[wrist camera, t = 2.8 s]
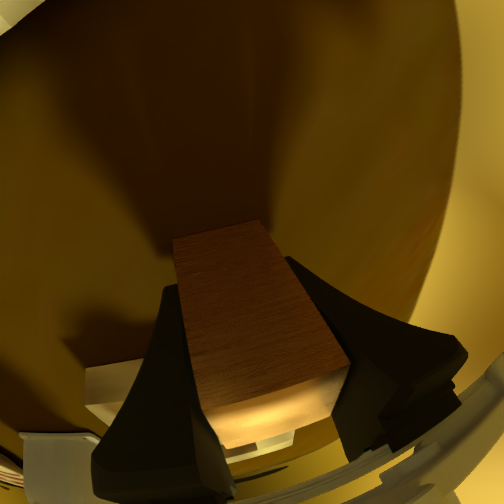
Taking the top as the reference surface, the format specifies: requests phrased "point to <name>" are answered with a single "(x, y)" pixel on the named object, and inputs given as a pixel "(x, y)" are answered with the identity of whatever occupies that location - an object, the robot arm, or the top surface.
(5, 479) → the dinner plate
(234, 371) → the brown wooden block
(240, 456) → the board
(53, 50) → the top surface
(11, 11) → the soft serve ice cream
